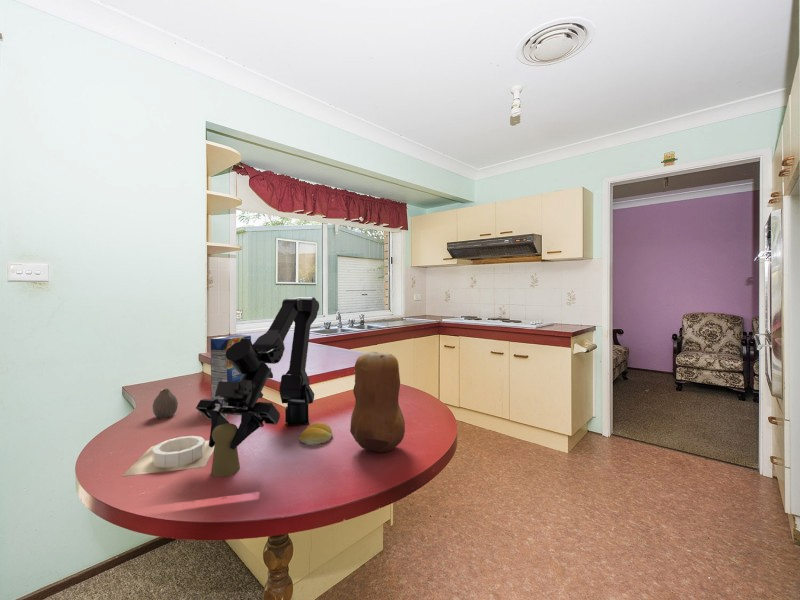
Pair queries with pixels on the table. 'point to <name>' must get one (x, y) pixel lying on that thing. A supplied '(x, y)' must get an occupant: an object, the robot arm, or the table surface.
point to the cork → (224, 451)
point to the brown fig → (165, 404)
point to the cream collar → (178, 451)
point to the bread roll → (316, 434)
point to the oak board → (147, 466)
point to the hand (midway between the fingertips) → (221, 447)
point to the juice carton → (223, 363)
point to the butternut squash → (377, 403)
